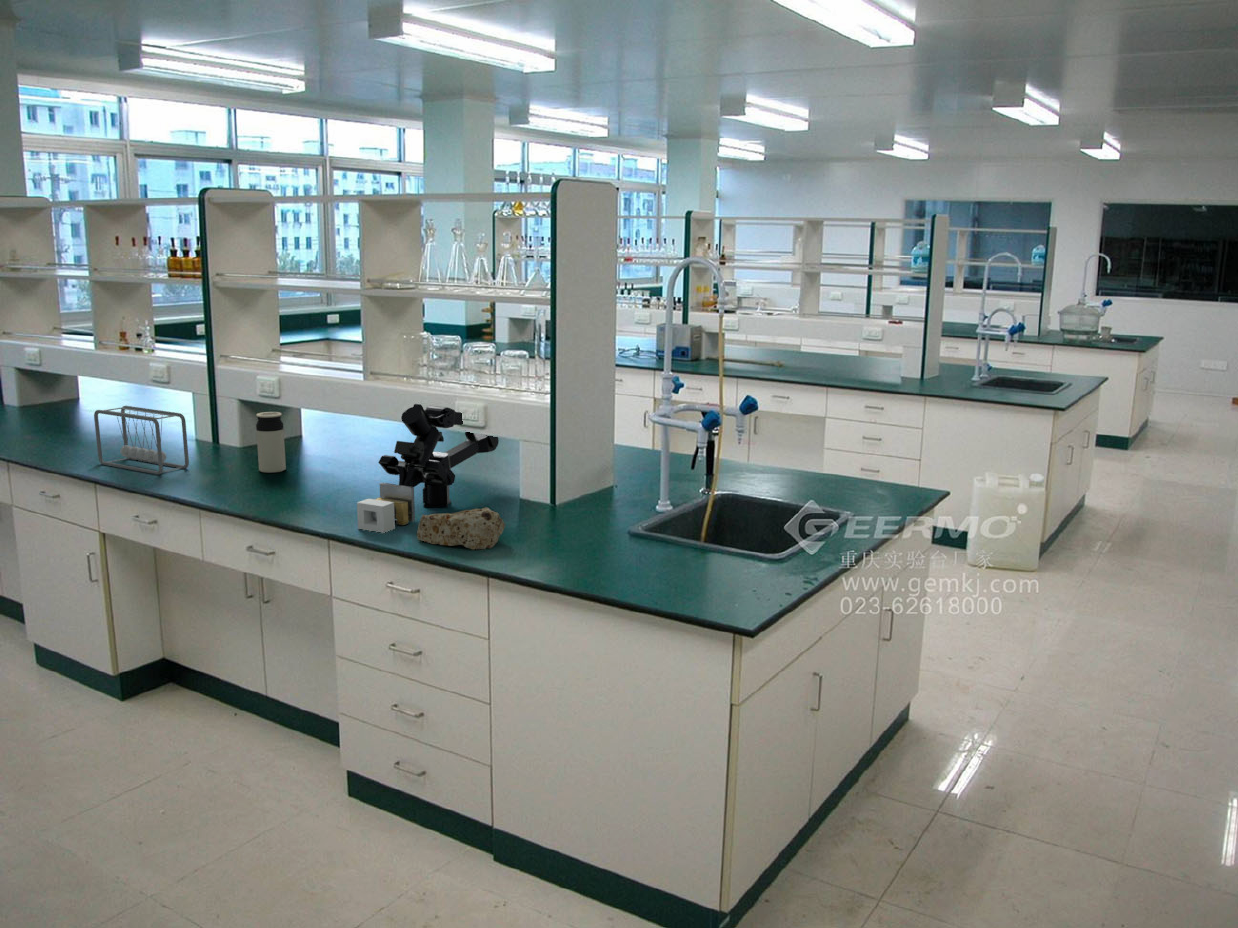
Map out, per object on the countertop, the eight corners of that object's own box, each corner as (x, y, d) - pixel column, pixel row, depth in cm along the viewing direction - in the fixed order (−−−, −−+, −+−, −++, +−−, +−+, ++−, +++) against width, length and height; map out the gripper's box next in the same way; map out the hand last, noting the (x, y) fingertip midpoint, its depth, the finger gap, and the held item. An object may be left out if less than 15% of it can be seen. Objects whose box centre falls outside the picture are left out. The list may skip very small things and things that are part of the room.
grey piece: (383, 515, 263) (382, 482, 261) (415, 520, 259) (414, 487, 257) (360, 524, 254) (359, 490, 252) (392, 529, 250) (391, 495, 248)
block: (369, 524, 256) (368, 498, 255) (394, 528, 253) (393, 502, 251) (358, 529, 252) (356, 502, 251) (383, 533, 249) (382, 506, 247)
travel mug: (291, 469, 314) (288, 413, 310) (270, 474, 307) (266, 417, 303) (274, 466, 318) (271, 410, 314) (253, 471, 312) (249, 414, 308)
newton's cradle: (190, 469, 313) (185, 413, 309) (161, 476, 304) (156, 418, 300) (127, 458, 326) (122, 404, 322) (98, 464, 317) (92, 409, 313)
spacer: (380, 518, 261) (379, 497, 259) (408, 523, 257) (407, 501, 256) (375, 520, 259) (374, 499, 258) (403, 525, 255) (402, 503, 254)
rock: (409, 547, 241) (410, 506, 242) (443, 545, 255) (444, 506, 255) (481, 550, 233) (482, 507, 233) (513, 548, 246) (514, 507, 246)
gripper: (381, 425, 265) (356, 474, 258) (440, 432, 257) (416, 482, 250) (400, 448, 274) (376, 496, 266) (457, 456, 266) (435, 505, 259)
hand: (400, 495), depth 260 cm, fingers closed
